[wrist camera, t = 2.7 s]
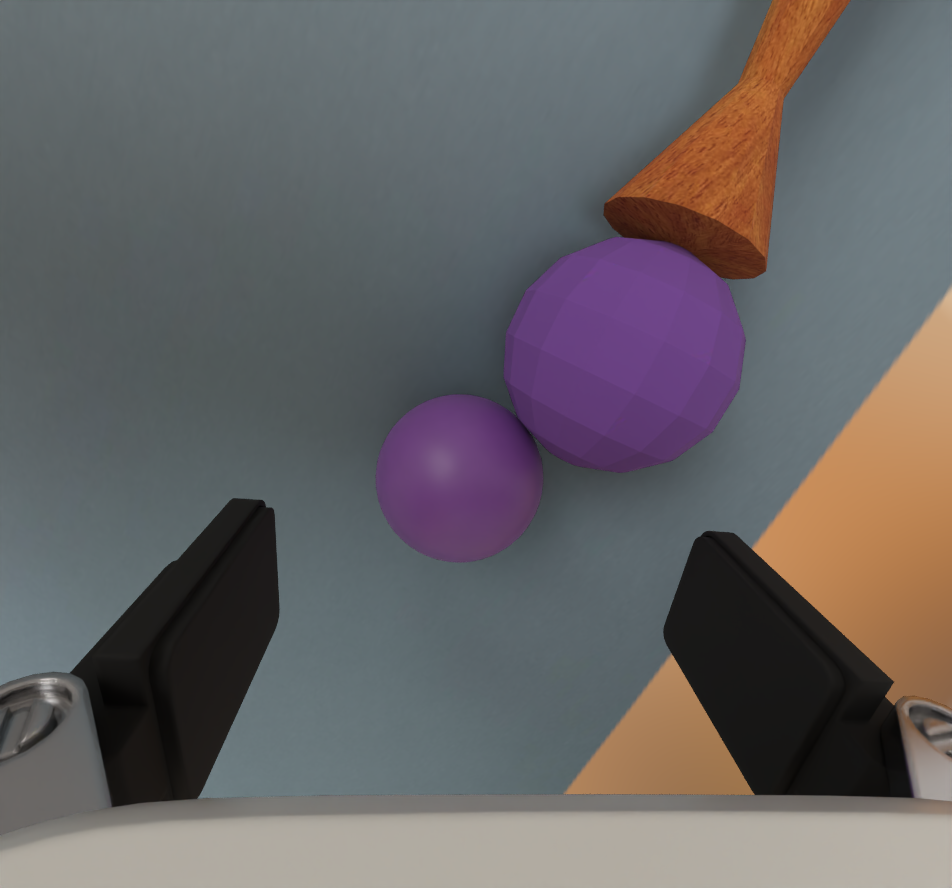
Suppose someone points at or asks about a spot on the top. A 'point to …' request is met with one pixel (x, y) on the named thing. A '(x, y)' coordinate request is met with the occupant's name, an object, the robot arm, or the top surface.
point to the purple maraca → (663, 278)
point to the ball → (459, 478)
